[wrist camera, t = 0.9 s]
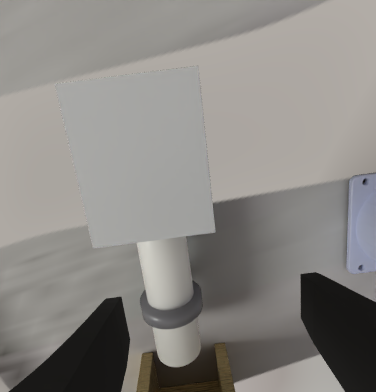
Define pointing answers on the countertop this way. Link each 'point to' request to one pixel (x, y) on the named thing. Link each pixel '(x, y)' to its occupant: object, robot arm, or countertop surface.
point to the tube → (171, 300)
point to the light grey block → (139, 155)
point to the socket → (220, 388)
